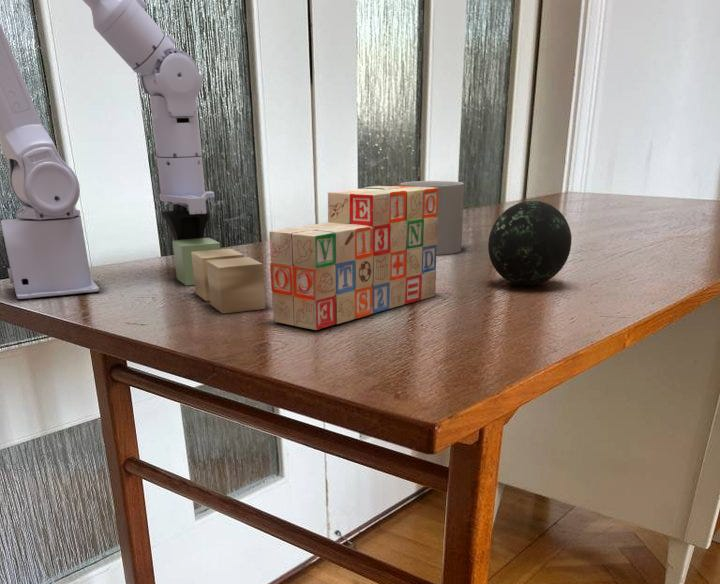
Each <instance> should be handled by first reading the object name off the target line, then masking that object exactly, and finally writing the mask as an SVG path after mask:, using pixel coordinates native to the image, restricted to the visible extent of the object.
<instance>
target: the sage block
mask: <svg viewBox="0 0 720 584" xmlns="http://www.w3.org/2000/svg"><path fill="white" fill-rule="evenodd" d="M172 248H173V249H172V250H173V259H174V268H175V275H176V279H177V281H179V282H181V284H182V285H184V286H185V287H187V286H189V287H190V286H195V283H194V274H193V264H192V255H191V252H195V251H208V250H220V249H221V243H220V242H219V241H217V240H215V239H214V238H211V237H203V238H199V239H186V240H174V239H173V240H172Z"/></svg>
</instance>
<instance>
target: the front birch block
mask: <svg viewBox="0 0 720 584" xmlns="http://www.w3.org/2000/svg"><path fill="white" fill-rule="evenodd" d="M206 262H207V273H208V283H209V293H210V301H209V303H210V306H212V307H213V308H214V309H215V310H217V311H218V312H219V313H220V314H223V315H224V314H225V315H226V314H232V313H242V312H251V311H258V310H266V295H265V294H266V293H265V282H264V281H265V280H264V279H265V278H264V265H263V263H262V262H260V261H258V260H256V259H254V258H252V257H250V256H244V257H242V258H230V259H219V260H207V261H206Z"/></svg>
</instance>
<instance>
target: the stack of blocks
mask: <svg viewBox="0 0 720 584" xmlns="http://www.w3.org/2000/svg"><path fill="white" fill-rule="evenodd" d="M438 196H439V189H438V188H434V187H418V186H417V187H412V186H400V185H374V186H364V187H363V188H353V189H347V190H338V191H337V190H336V191H328V192H327V222H322V223H315V224H307V225H300V226H292V227H287V228H281V229H275V230H274V229H273V230H269V232H268V233H269V253H270V254H269V256H270V263H269V270H270V271H269V272H270V287H271V288H270V289H271V301H272V302H271V303H272V316H273V322H275V323H279V324H284V325H289V326H294V327H298V328H304V329H309V330H313V331H318V330H322V329H325V328H328V327H331V326H334V325H339V324H342V323H343V324H344V323H346V322H350V321H354V320H356V319H360V318H363V317H367V316H370V315H371V316H372V315H374V314H377V313H380V312H384V311H387V310H389V309H390V310H391V309H393V308H397V307H400V306H404V305H409V304H412V303H415V302H418V301H422V300H425V299H429V298H432V297H435V296H436V291H437V290H436V289H437V288H436V287H437V286H436V283H437V282H436V281H437V255H436V252H437V239H438V216H437V215H438Z"/></svg>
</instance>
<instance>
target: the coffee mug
mask: <svg viewBox="0 0 720 584" xmlns="http://www.w3.org/2000/svg"><path fill="white" fill-rule="evenodd" d="M399 186H412V187H417V186H418V187H434V188H438V189H439V196H438V215H437V216H438V239H437V252H436V256H441V255H444V256H445V255H453V254H457V253H459V252H461V251H462V247H463V245H462V242H463V225H464V224H463V222H464V221H463V220H464V200H465V183H464V182H461V181H449V180H418V181H417V180H416V181H405V182H401V183H400V184H399Z"/></svg>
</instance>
